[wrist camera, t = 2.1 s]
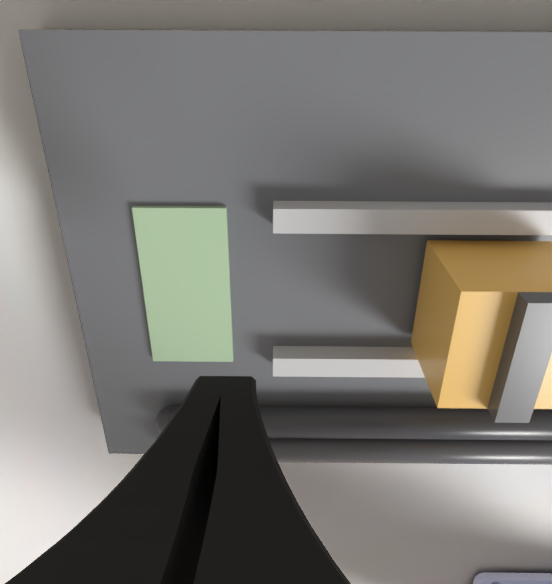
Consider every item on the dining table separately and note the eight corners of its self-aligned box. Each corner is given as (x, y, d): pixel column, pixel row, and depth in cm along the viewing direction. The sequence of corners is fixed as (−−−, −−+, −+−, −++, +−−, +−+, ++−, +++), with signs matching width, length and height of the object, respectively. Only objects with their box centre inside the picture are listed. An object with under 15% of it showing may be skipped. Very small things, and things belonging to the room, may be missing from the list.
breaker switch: (550, 241, 16) (627, 304, 13) (521, 343, 18) (581, 423, 15) (427, 240, 16) (468, 302, 13) (410, 342, 18) (443, 422, 15)
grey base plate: (979, 33, 15) (1111, 35, 13) (740, 433, 23) (794, 481, 20) (41, 29, 15) (-4, 30, 13) (118, 428, 23) (100, 475, 20)
